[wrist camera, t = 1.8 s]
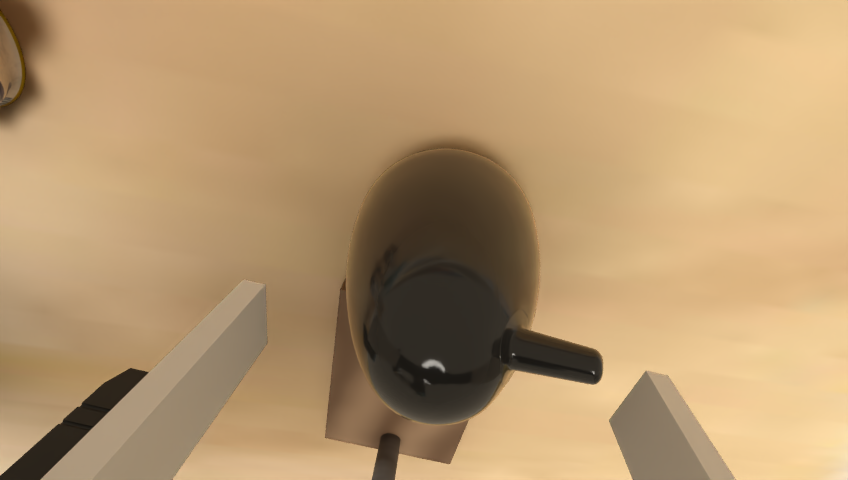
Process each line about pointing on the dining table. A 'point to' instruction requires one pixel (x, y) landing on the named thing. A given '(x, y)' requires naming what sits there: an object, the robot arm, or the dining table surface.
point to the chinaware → (10, 64)
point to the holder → (377, 413)
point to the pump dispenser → (450, 289)
